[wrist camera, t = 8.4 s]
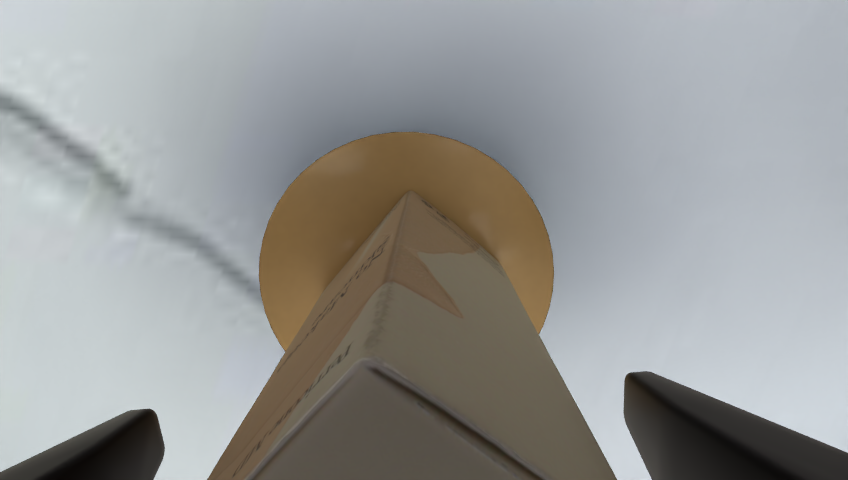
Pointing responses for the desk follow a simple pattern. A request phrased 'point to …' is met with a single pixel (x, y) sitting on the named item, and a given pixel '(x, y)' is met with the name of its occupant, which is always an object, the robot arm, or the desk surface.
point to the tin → (375, 197)
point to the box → (415, 374)
